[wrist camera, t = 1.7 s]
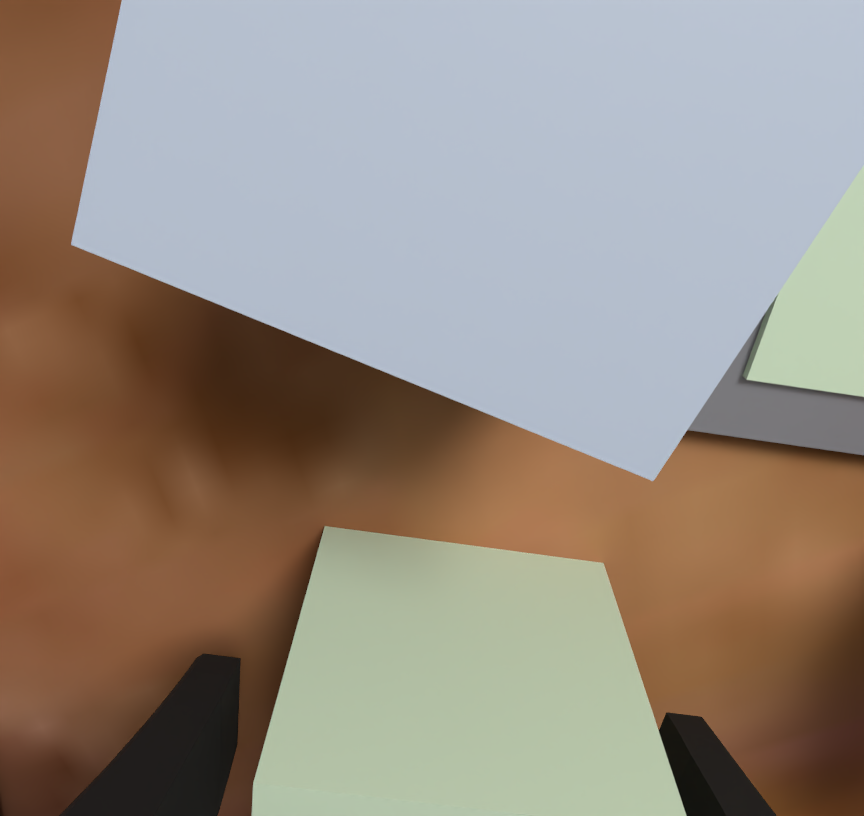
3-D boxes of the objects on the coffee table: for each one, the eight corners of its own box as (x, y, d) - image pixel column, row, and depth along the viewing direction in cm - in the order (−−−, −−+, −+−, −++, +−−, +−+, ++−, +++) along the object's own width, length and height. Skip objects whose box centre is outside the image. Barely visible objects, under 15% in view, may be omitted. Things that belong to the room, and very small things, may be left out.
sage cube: (305, 722, 14) (240, 1018, 10) (325, 523, 12) (253, 782, 8) (543, 751, 14) (586, 1053, 10) (602, 560, 12) (691, 833, 8)
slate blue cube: (247, 171, 10) (70, 244, 5) (378, -259, 8) (277, -759, 3) (563, 310, 10) (652, 481, 6) (755, -50, 8) (1111, -209, 4)
